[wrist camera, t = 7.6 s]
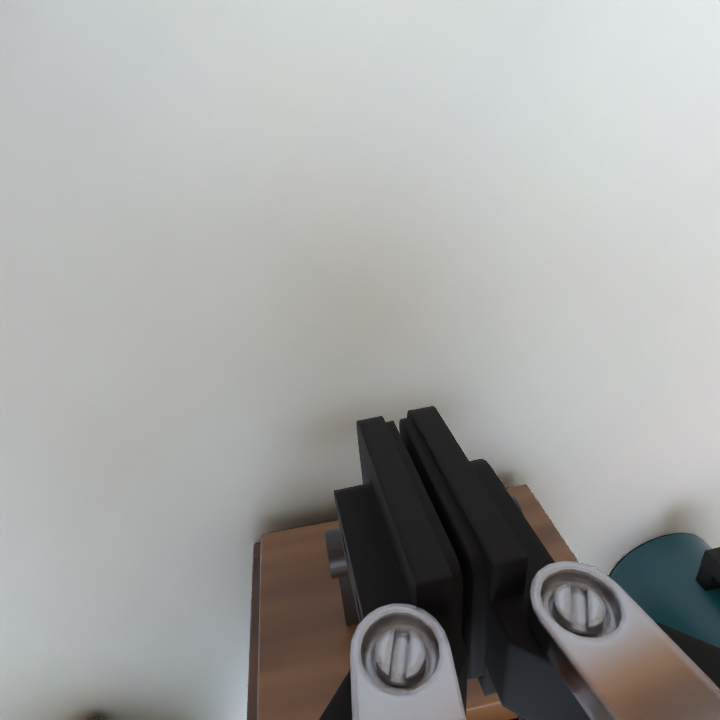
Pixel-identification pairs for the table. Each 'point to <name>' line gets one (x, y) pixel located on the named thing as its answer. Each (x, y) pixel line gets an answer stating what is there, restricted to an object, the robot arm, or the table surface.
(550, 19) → the table surface
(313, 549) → the drawer
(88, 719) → the green bell
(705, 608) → the kettle
